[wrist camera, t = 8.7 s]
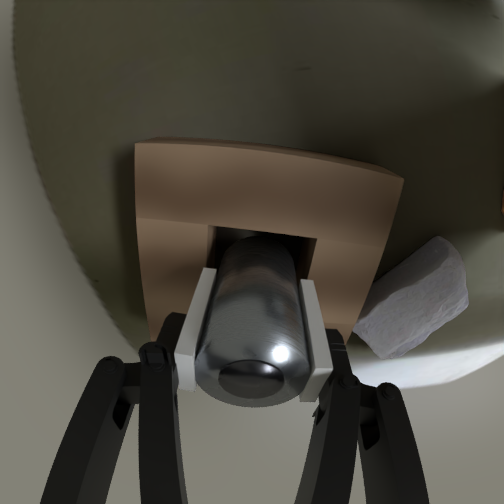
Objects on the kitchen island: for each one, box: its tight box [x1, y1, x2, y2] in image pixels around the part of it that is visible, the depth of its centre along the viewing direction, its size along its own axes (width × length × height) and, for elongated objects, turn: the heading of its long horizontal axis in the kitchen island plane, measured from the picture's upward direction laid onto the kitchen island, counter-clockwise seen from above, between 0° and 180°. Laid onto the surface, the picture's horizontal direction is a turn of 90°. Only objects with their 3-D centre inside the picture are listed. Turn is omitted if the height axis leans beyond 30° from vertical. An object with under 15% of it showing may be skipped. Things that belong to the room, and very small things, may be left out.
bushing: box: [194, 236, 311, 407], centre depth 15 cm, size 5×5×9 cm
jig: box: [135, 137, 404, 345], centre depth 20 cm, size 16×16×4 cm
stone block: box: [352, 236, 469, 359], centre depth 22 cm, size 12×5×10 cm
